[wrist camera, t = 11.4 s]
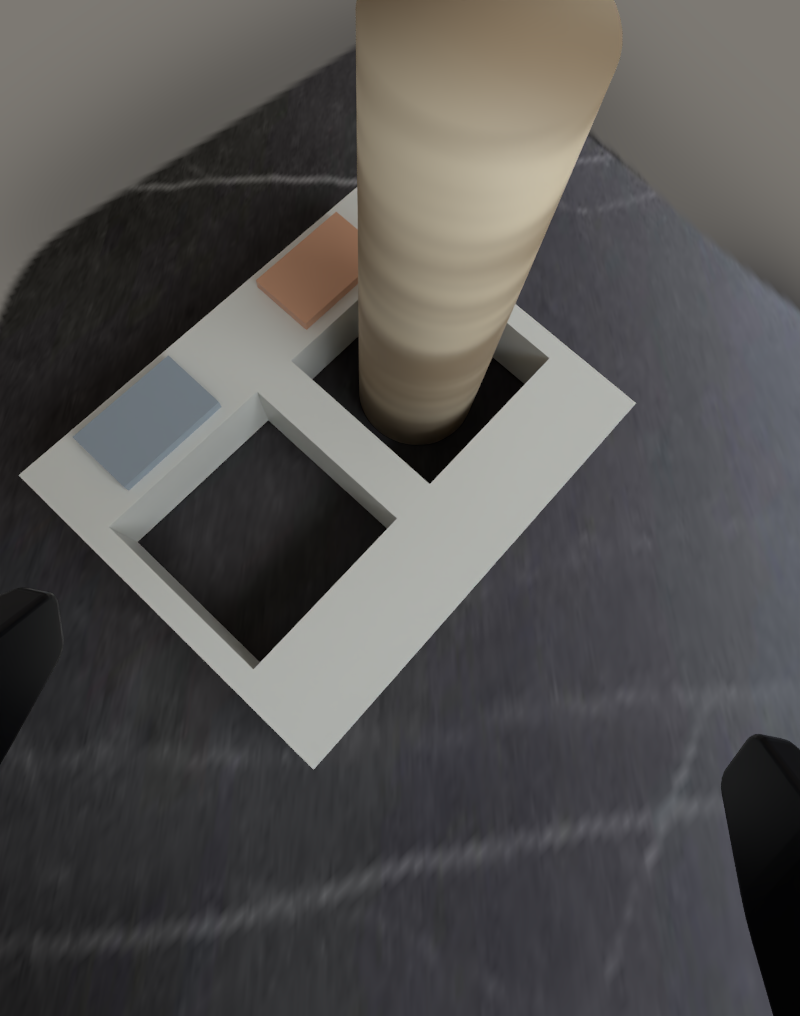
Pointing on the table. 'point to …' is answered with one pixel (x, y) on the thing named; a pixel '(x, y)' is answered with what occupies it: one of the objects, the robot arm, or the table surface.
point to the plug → (461, 183)
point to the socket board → (343, 456)
